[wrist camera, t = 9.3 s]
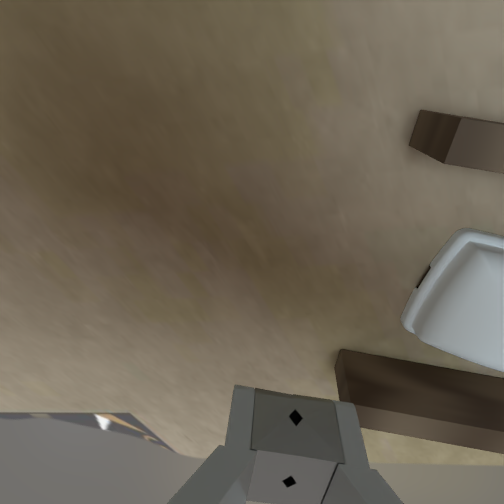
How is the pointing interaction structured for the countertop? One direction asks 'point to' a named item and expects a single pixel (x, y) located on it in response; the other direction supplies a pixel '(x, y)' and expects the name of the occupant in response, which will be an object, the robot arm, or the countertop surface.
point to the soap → (463, 299)
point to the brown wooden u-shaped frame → (420, 375)
